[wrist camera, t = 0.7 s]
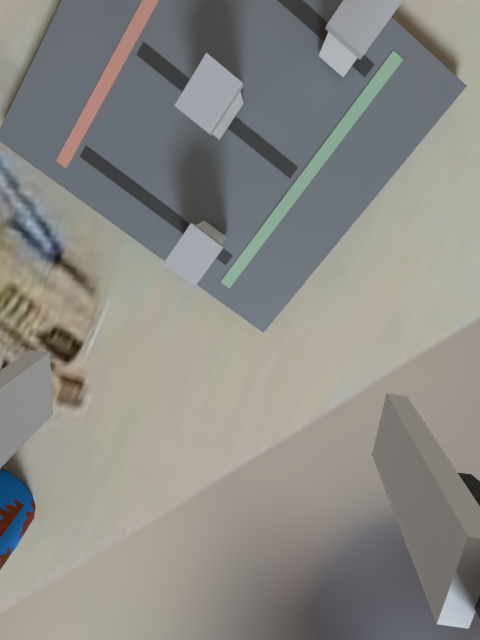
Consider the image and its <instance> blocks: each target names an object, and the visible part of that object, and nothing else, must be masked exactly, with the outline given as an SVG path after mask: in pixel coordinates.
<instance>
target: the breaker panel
mask: <svg viewBox="0 0 480 640" xmlns="http://www.w3.org/2000/svg"><path fill="white" fill-rule="evenodd" d="M342 2H343V0H62V1H61V3H60V5H59V7H58V9H57V11H56V13H55V15H54V18H53V20H52V22H51V24H50V26H49V28H48V30H47V32H46V34H45V36H44V38H43V40H42V43H41V45H40V47H39V49H38V51H37V53H36V55H35V57H34V59H33V61H32V63H31V65H30V68H29V70H28V72H27V74H26V76H25V78H24V80H23V82H22V84H21V86H20V88H19V90H18V93H17V95H16V97H15V99H14V101H13V103H12V105H11V107H10V109H9V111H8V113H7V115H6V118H5V120H4V122H3V124H2V126H1V128H0V142H2V143H3V144H4V145H6V146H7V147H8V148H10V149H11V150H13V151H14V152H15V153H17V154H18V155H20V156H21V157H22V158H24V159H25V160H26V161H28V162H29V163H31V164H32V165H33V166H35V167H36V168H37V169H39V170H40V171H42V172H43V173H44V174H46V175H47V176H48V177H50V178H51V179H53V180H54V181H55V182H57V183H58V184H59V185H61V186H62V187H64V188H65V189H66V190H68V191H69V192H70V193H72V194H73V195H75V196H76V197H77V198H79V199H80V200H81V201H83V202H84V203H86V204H87V205H88V206H90V207H91V208H92V209H94V210H95V211H97V212H98V213H99V214H101V215H102V216H103V217H105V218H106V219H108V220H109V221H110V222H112V223H113V224H114V225H116V226H117V227H119V228H120V229H121V230H123V231H124V232H125V233H127V234H128V235H130V236H131V237H132V238H134V239H135V240H136V241H138V242H139V243H141V244H142V245H143V246H145V247H146V248H147V249H149V250H150V251H152V252H153V253H154V254H156V255H157V256H158V257H160V258H161V259H163V260H164V261H165V260H166V259H167V257H168V256H169V255H170V253H171V252H172V250H173V249H174V247H175V246H176V244H177V243H178V241H179V240H180V238H181V237H182V236H183V234H184V233H185V231H186V230H187V228H188V227H189V225H190V224H191V223H192V222H193V223H194V224H196V225H197V224H199V223H201V222H202V221H204V220H205V221H206V222H207V223H209V224H210V225H211V226H213V227H214V228H215V229H217V230H218V231H219V232H221V233H222V234H223V235H225V236H226V237H227V239H226V240H225V242H224V243H223V244H222V245H224V248H223V249H222V250H221V252H220V253H219V255H218V256H217V257H216V259H215V260H214V261H213V263H212V264H211V266H210V267H209V268H208V270H207V271H206V272H205V274H204V275H203V277H202V278H201V279H200V281H199V282H198V283H197V285H198V286H200V287H201V288H203V289H204V290H205V291H207V292H208V293H209V294H211V295H212V296H214V297H215V298H216V299H218V300H219V301H220V302H222V303H223V304H225V305H226V306H227V307H229V308H230V309H231V310H233V311H234V312H236V313H237V314H238V315H240V316H241V317H242V318H244V319H245V320H247V321H248V322H249V323H251V324H252V325H253V326H255V327H256V328H258V329H259V330H260V331H262V332H264V331H265V330H266V329H267V328H268V326H269V325H270V324H271V323H272V322H273V320H274V319H275V318H276V317H277V315H278V314H279V313H280V312H281V311H282V309H283V308H284V307H285V306H286V305H287V303H288V302H289V301H290V300H291V299H292V297H293V296H294V295H295V294H296V292H297V291H298V290H299V289H300V288H301V286H302V285H303V284H304V283H305V282H306V280H307V279H308V278H309V277H310V275H311V274H312V273H313V272H314V271H315V269H316V268H317V267H318V266H319V265H320V263H321V262H322V261H323V260H324V258H325V257H326V256H327V255H328V254H329V252H330V251H331V250H332V249H333V248H334V246H335V245H336V244H337V243H338V241H339V240H340V239H341V238H342V237H343V235H344V234H345V233H346V232H347V231H348V229H349V228H350V227H351V226H352V224H353V223H354V222H355V221H356V220H357V218H358V217H359V216H360V215H361V214H362V212H363V211H364V210H365V209H366V208H367V206H368V205H369V204H370V203H371V201H372V200H373V199H374V198H375V197H376V195H377V194H378V193H379V192H380V191H381V189H382V188H383V187H384V186H385V184H386V183H387V182H388V181H389V180H390V178H391V177H392V176H393V175H394V174H395V172H396V171H397V170H398V169H399V167H400V166H401V165H402V164H403V163H404V161H405V160H406V159H407V158H408V157H409V155H410V154H411V153H412V152H413V150H414V149H415V148H416V147H417V146H418V144H419V143H420V142H421V141H422V140H423V138H424V137H425V136H426V135H427V133H428V132H429V131H430V130H431V129H432V127H433V126H434V125H435V124H436V123H437V121H438V120H439V119H440V118H441V117H442V115H443V114H444V113H445V112H446V110H447V109H448V108H449V107H450V106H451V104H452V103H453V102H454V101H455V100H456V98H457V97H458V96H459V95H460V93H461V92H462V91H463V90H464V89H465V87H466V85H465V84H464V83H463V82H462V81H461V80H460V79H459V78H458V77H457V76H455V75H454V74H453V73H452V72H451V71H450V70H449V69H448V68H447V67H446V66H445V65H444V64H442V63H441V62H440V61H439V60H438V59H437V58H436V57H435V56H434V55H433V54H432V53H431V52H429V51H428V50H427V49H426V48H425V47H424V46H423V45H422V44H421V43H420V42H419V41H417V40H416V39H415V38H414V37H413V36H412V35H411V34H410V33H409V32H408V31H407V30H406V29H404V28H403V27H402V26H401V25H400V24H399V23H398V22H397V21H396V20H395V19H394V18H393V17H391V18H390V19H389V21H388V22H387V24H386V25H385V26H384V28H383V29H382V30H381V32H380V33H379V35H378V36H377V37H376V39H375V40H374V41H373V43H372V44H371V46H370V47H369V48H368V50H367V51H366V52H365V54H364V55H363V57H362V58H361V59H358V58H357V59H356V61H355V62H354V64H353V65H352V66H351V68H350V69H349V70H348V72H347V73H346V75H345V76H344V77H342V76H341V75H340V74H339V73H337V72H336V71H335V70H334V69H333V68H332V67H331V66H329V65H328V64H327V63H326V62H325V61H324V60H323V59H321V58H320V57H319V54H320V51H321V49H322V46H323V44H324V41H325V39H326V36H327V34H328V31H327V30H326V29H325V28H326V26H327V24H328V22H329V21H330V19H331V18H332V16H333V15H334V13H335V12H336V10H337V9H338V7H339V6H340V5H341V3H342ZM206 53H207V54H209V55H210V56H211V57H212V58H213V59H215V60H216V61H217V62H218V63H219V64H221V65H222V66H223V67H224V68H225V69H227V70H228V71H229V72H230V73H231V74H233V75H234V76H235V77H236V78H237V79H239V80H240V81H241V82H242V83H243V88H242V89H241V91H240V92H241V96H242V100H243V105H242V107H241V108H240V110H239V111H238V113H237V114H236V116H235V117H234V119H233V120H232V122H231V123H230V125H229V126H228V128H227V130H226V131H225V133H224V134H223V136H222V137H221V139H220V140H219V139H217V138H216V137H215V136H214V135H210V134H209V133H207V132H206V131H205V130H204V129H202V128H201V127H200V126H199V125H197V124H196V123H195V122H194V121H192V120H191V119H190V118H189V117H187V116H186V115H185V114H184V113H182V112H181V111H180V110H179V109H177V108H176V107H175V106H174V105H175V104H176V102H177V100H178V99H179V97H180V95H181V94H182V92H183V90H184V89H185V87H186V85H187V84H188V82H189V81H190V79H191V77H192V76H193V74H194V72H195V71H196V69H197V67H198V66H199V64H200V62H201V61H202V59H203V58H204V56H205V54H206Z"/></svg>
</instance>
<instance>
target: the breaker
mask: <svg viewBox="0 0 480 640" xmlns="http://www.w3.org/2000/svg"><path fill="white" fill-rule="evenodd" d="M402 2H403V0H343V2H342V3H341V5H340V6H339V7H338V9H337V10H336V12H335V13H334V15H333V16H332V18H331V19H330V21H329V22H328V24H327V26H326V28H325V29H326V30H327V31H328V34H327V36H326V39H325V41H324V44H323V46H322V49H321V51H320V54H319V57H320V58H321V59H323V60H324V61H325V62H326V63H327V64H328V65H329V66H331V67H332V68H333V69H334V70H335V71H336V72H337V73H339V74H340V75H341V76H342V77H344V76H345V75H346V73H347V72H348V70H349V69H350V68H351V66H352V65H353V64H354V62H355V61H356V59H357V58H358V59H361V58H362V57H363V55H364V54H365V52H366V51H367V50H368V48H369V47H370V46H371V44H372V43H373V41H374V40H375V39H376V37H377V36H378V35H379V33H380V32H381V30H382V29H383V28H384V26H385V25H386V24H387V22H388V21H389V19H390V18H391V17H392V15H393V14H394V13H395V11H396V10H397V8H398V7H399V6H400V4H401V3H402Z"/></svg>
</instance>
